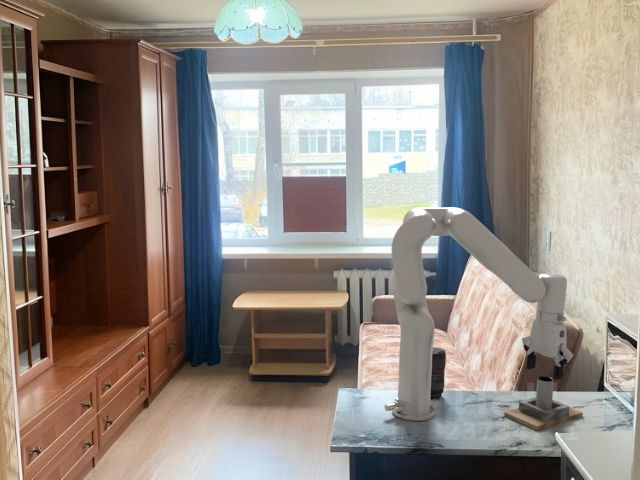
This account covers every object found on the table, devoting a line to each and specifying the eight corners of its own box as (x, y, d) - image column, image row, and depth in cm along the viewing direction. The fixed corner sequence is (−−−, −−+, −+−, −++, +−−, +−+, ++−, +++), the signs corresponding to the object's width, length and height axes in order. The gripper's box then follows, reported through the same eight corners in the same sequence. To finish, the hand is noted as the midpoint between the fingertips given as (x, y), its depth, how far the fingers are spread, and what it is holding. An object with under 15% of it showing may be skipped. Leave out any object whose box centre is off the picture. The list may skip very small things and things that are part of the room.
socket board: (536, 430, 190) (537, 417, 190) (504, 415, 200) (504, 403, 200) (582, 416, 201) (583, 404, 200) (549, 403, 211) (550, 391, 210)
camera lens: (448, 394, 216) (450, 349, 214) (438, 402, 210) (440, 355, 208) (424, 389, 221) (426, 344, 219) (414, 396, 214) (415, 350, 212)
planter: (552, 415, 198) (554, 381, 196) (536, 414, 199) (538, 380, 197) (550, 410, 202) (552, 376, 201) (534, 408, 203) (536, 375, 202)
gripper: (583, 322, 191) (577, 381, 194) (534, 308, 206) (529, 363, 208) (566, 325, 187) (560, 385, 190) (517, 310, 202) (512, 366, 204)
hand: (543, 373), depth 199 cm, fingers open, 9 cm apart
